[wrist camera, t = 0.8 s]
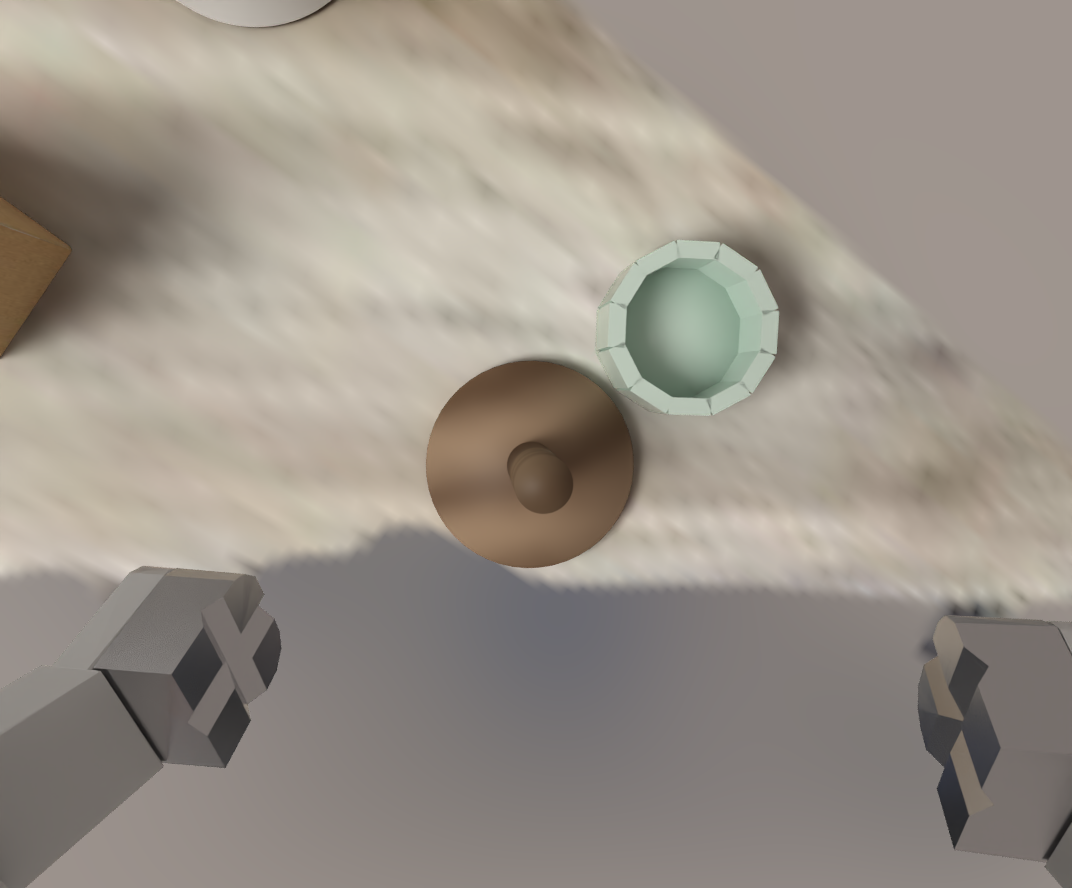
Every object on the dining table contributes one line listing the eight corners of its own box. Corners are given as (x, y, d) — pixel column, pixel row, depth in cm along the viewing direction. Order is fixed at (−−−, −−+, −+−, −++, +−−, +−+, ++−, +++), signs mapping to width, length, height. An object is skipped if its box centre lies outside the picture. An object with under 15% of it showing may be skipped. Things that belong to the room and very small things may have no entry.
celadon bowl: (568, 299, 47) (578, 291, 43) (707, 226, 48) (731, 210, 43) (640, 439, 49) (657, 445, 44) (775, 367, 49) (806, 365, 44)
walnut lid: (390, 421, 47) (366, 432, 37) (572, 325, 48) (598, 309, 38) (487, 599, 49) (490, 655, 39) (664, 503, 49) (712, 534, 39)
